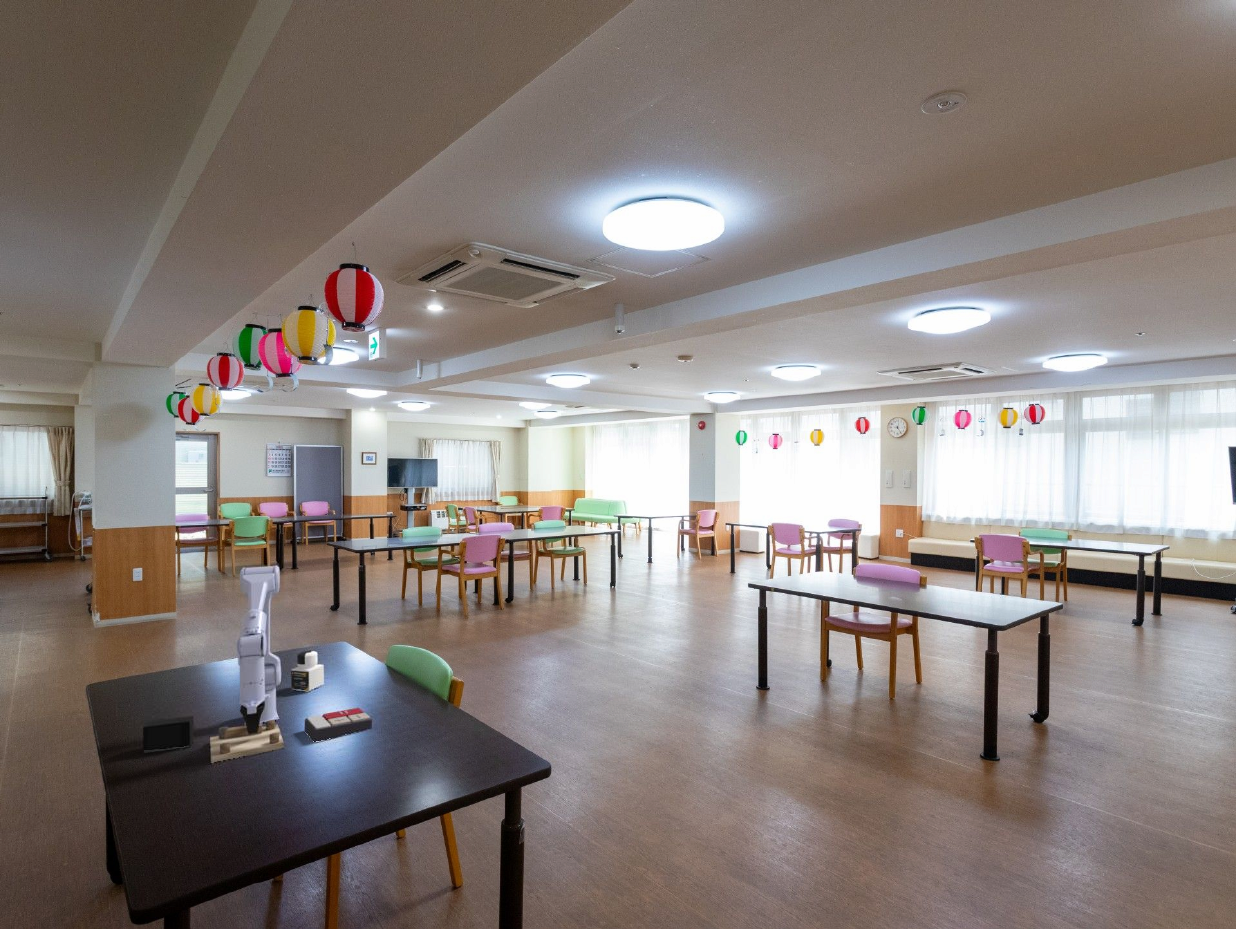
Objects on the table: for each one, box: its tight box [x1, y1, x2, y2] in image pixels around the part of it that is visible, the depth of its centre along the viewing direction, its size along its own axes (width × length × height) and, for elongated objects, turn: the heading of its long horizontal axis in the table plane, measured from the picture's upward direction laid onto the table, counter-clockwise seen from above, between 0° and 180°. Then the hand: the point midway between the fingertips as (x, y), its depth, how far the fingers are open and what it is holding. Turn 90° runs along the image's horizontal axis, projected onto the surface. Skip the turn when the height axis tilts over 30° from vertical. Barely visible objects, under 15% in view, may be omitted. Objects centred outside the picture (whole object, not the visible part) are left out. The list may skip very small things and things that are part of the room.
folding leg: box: [218, 723, 263, 739], centre depth 178 cm, size 10×2×2 cm, turn 113°
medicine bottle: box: [290, 650, 325, 691], centre depth 222 cm, size 7×7×12 cm
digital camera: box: [142, 715, 195, 751], centre depth 176 cm, size 10×5×7 cm, turn 110°
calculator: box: [303, 707, 373, 743], centre depth 185 cm, size 11×4×15 cm
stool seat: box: [209, 720, 285, 764], centre depth 175 cm, size 15×16×4 cm
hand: (253, 732), depth 176 cm, fingers closed
